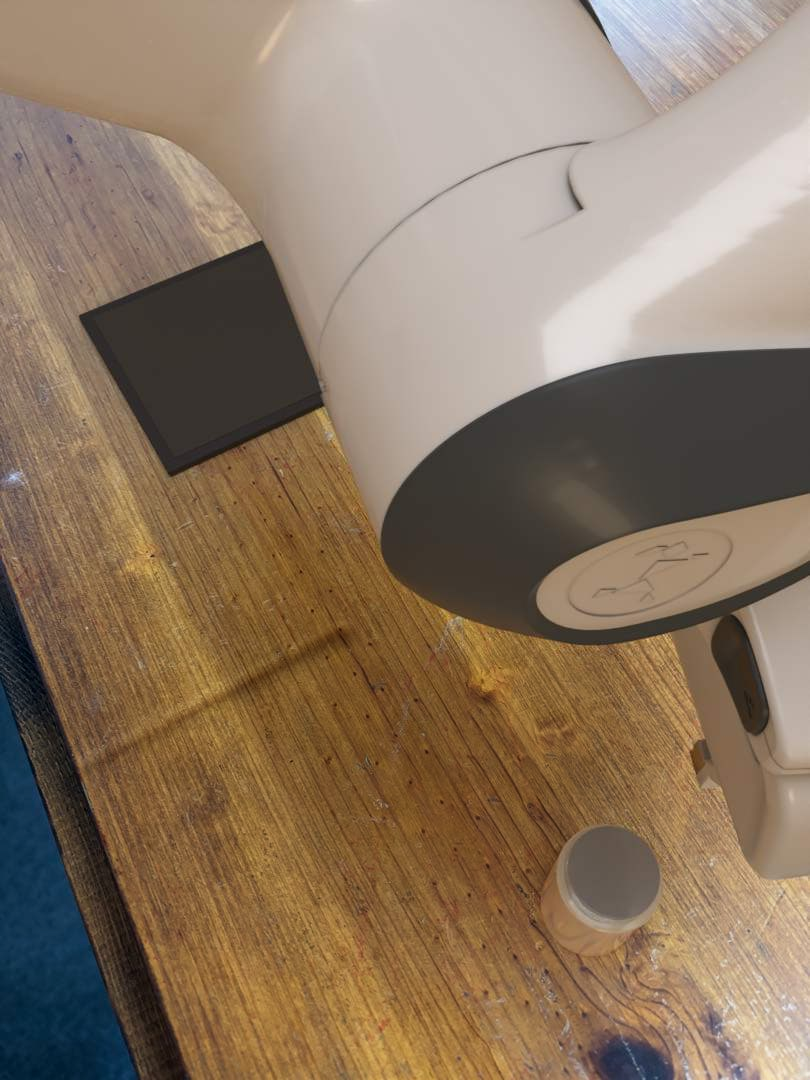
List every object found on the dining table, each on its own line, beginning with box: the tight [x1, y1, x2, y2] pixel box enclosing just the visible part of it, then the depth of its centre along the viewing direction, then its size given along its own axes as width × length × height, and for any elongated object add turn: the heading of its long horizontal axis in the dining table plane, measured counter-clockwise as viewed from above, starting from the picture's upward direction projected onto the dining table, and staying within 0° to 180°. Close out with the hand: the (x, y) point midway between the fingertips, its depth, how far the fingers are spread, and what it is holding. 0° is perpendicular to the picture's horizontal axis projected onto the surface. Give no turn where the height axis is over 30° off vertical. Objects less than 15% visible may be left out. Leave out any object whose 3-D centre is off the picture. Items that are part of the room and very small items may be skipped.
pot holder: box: [78, 239, 325, 477], centre depth 77 cm, size 16×16×1 cm
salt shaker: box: [539, 823, 664, 957], centre depth 54 cm, size 5×5×8 cm
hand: (677, 659), depth 44 cm, fingers open, 8 cm apart
